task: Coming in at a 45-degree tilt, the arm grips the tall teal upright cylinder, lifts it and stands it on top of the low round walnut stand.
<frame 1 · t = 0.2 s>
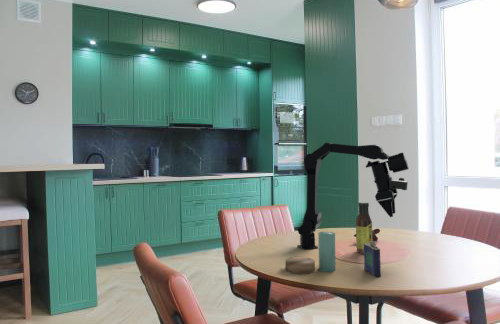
hand: (392, 215, 154), 15 cm above the table, tool pointing down, fingers open, 9 cm apart
stand: (300, 269, 137), on the table
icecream: (366, 242, 177), on the table
teal upright cylinder: (327, 269, 136), on the table
flask: (372, 273, 131), on the table
sauce bottle: (364, 252, 159), on the table
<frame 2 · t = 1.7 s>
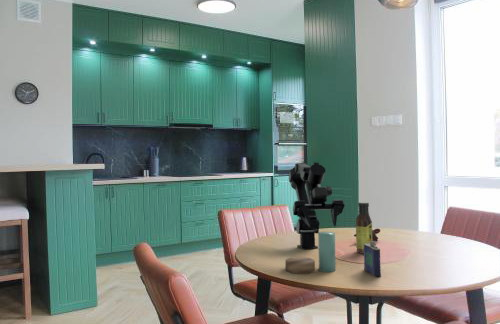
hand: (322, 226, 144), 13 cm above the table, tool tilted 45°, fingers open, 9 cm apart
nothing on the table moved.
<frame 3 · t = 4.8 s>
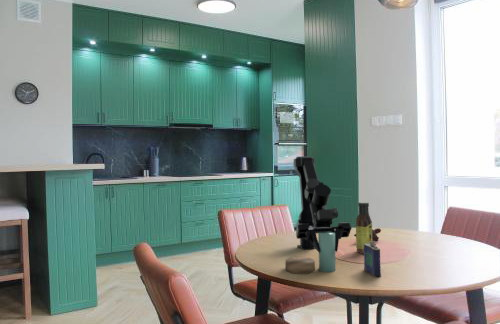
hand: (328, 251, 134), 7 cm above the table, tool tilted 45°, fingers closed on teal upright cylinder, 6 cm apart
teal upright cylinder: (327, 269, 136), on the table, touching gripper
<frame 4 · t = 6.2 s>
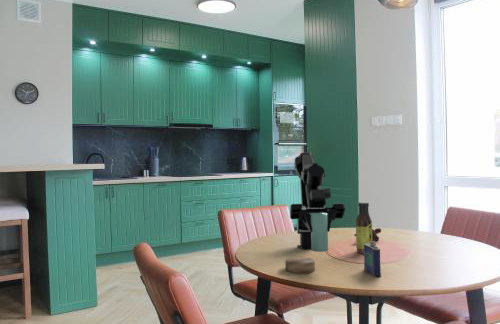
hand: (319, 231, 134), 13 cm above the table, tool tilted 45°, fingers closed on teal upright cylinder, 6 cm apart
teal upright cylinder: (319, 249, 136), point 7 cm above the table, touching gripper
when the fingers open (11 cm above the table, at t = 7.8 s): teal upright cylinder drops 1 cm, resting on stand.
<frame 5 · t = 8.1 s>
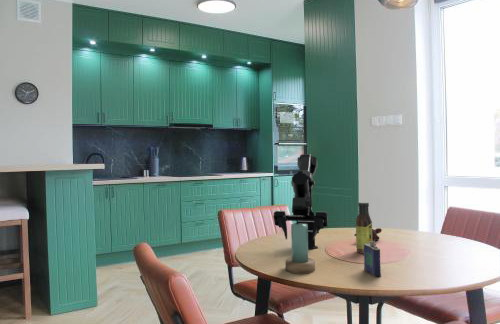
hand: (299, 239, 135), 11 cm above the table, tool tilted 45°, fingers open, 9 cm apart
teal upright cylinder: (300, 260, 137), point 3 cm above the table, touching stand
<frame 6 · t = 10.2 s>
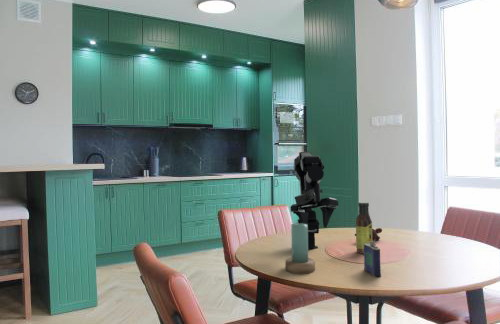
hand: (315, 228, 147), 12 cm above the table, tool tilted 15°, fingers open, 9 cm apart
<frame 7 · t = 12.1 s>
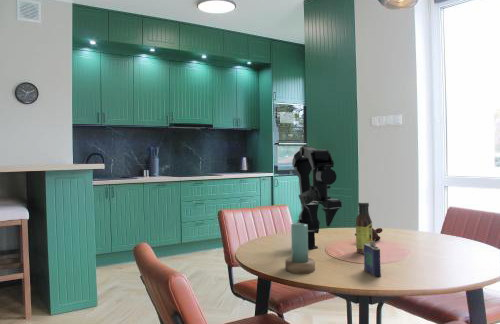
hand: (320, 224, 150), 13 cm above the table, tool pointing down, fingers open, 9 cm apart
at the end: teal upright cylinder 0.1 cm off-centre on the stand, point 3.0 cm above the stand's base; teal upright cylinder tilted 0°; the gripper is holding nothing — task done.
